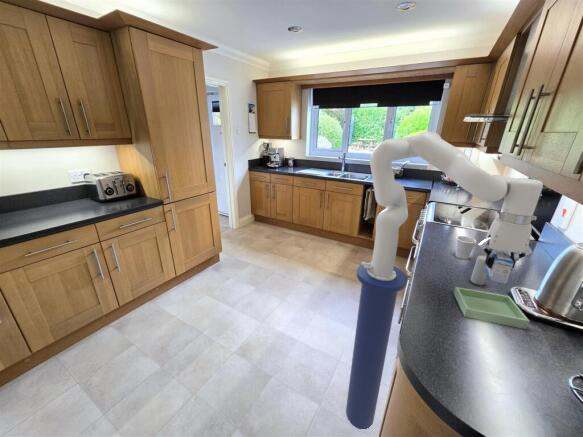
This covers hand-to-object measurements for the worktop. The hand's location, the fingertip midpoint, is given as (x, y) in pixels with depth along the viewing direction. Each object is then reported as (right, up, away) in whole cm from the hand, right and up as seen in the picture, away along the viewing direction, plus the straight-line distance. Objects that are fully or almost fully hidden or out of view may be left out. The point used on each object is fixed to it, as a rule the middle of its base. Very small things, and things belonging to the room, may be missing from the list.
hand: (498, 267), depth 83 cm
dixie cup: (+18, -3, +43) cm, 47 cm away
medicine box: (0, -4, +1) cm, 4 cm away
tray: (0, -17, +5) cm, 17 cm away
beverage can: (+9, -11, +21) cm, 26 cm away
